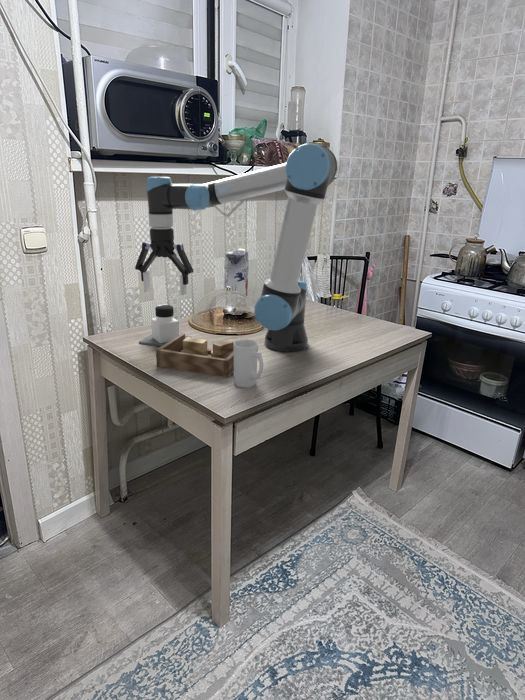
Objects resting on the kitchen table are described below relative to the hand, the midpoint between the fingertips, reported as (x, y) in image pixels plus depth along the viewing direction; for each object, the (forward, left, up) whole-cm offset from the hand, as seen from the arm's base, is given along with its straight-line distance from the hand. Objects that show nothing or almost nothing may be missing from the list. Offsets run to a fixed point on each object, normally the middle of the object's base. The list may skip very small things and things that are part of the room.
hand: (165, 292), depth 160 cm
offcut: (-15, +8, -17) cm, 24 cm away
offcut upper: (-25, +9, -15) cm, 30 cm away
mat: (0, 0, -17) cm, 17 cm away
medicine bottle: (0, 0, -17) cm, 17 cm away
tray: (-20, +13, -17) cm, 29 cm away
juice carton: (-10, -43, -17) cm, 47 cm away
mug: (-39, +24, -17) cm, 49 cm away
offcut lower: (-25, +8, -18) cm, 32 cm away
